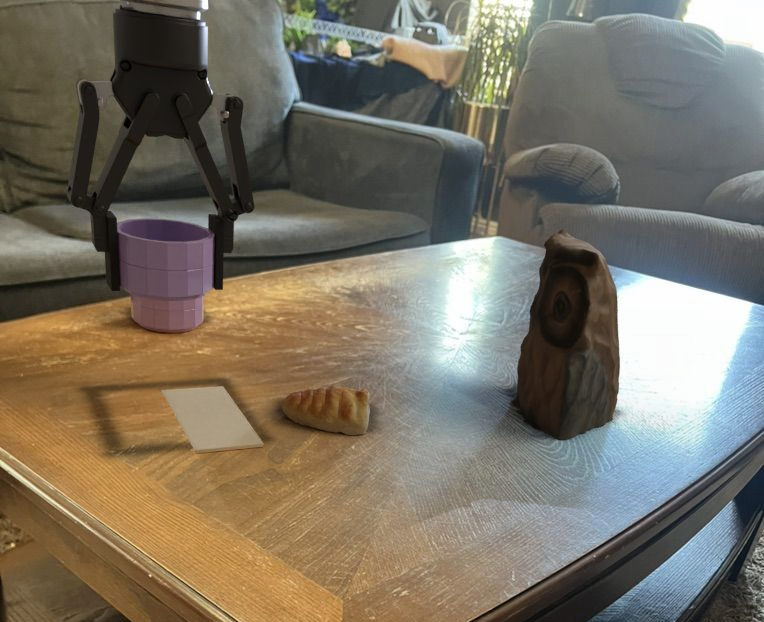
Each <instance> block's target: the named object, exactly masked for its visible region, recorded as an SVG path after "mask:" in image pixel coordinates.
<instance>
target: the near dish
mask: <svg viewBox="0 0 764 622" xmlns="http://www.w3.org/2000/svg"><path fill="white" fill-rule="evenodd" d="M117 234H118V255H119V276H120V288H122V289H124V290H125V292H126V293H128V294H132V295H135V296H137V297H141V298H145V299H150V300H157V301H188V300H194V299H198V298H200V297H203V296H204V297H205V296H206V295H207V293H209V292H210V291H213V289H214V288H213V286H214V257H215V233H213V232H212V231H211V230H210V229H208V227H206V226H203V225H200V224H198V223H194V222H193V223H192V222H187V221H185V220H177V219H170V218H169V219H167V218H150V217H149V218H146V217H143V218H131V219H125V220H122V221H121V220H120V221H117Z"/></svg>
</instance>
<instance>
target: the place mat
mask: <svg viewBox="0 0 764 622" xmlns="http://www.w3.org/2000/svg"><path fill="white" fill-rule="evenodd" d="M160 391H161V393H162V395H163V397H164V398H165V400H166V402H167V404H168V405H169V408H170V409H171V411H172V413H173V414H174V416H175V418H176V421H177V422H178V424H179V425H180V427H181V429H182V430H183V432H184V434H185V436H186V438H187V439H188V441H189V443H190V445H191V447H192V448H193V450H194V452H195V454H206V453H214V452H226V451H234V450H243V449H244V450H245V449H254V448H264V445H265V444H264V442H263V441H262V439H261V437H260V436H259V435H258V433H257V432H256V431H255V429H254V428H253V427H252V425H251V424H250V422H249V420H247V418H246V416H245V415H244V413H242V411H241V410H240V408H239V407H238V405H237V404H236V403H235V400H233V398H232V397H231V395H230V394H229V393H228V391H227V390H226V389H225V387H224V385H222V386H220V385H219V386H206V387H205V386H203V387H189V388H173V389H160Z"/></svg>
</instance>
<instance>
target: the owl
mask: <svg viewBox="0 0 764 622" xmlns="http://www.w3.org/2000/svg"><path fill="white" fill-rule="evenodd" d="M543 247H544V248H545V253H544V257H543V260H542V261H541V264H540V266H539V269H538V274H539V276H538V277H539V285H538V289H537V291H536V293H535V295H534V297H533V301H532V303H531V305H530V307H529V323H528V331H527V334H526V335H525V336H524V338H523V339H522V341H521V344H520V346H519V347H520V349H519V350H520V355H519V358H518V361H517V367H516V374H517V384H516V385H517V386H516V395H515V396H514V398H512V399H511V401H510V403H511V404H512V405H513V406H515V407H517V410H516V412H517V413H518V414H519V415H521V416H522V417H523V420H522V421H523V423H525V424H527V425H529V426H531V427H532V428H533V429H535V430H538V431H541V432H544V433H546V434H547V435H550V436H551V437H553V438H555V439H556V440H561V441H567V440H572V439H573V438H575V437H577V435H580V434H581V435H583V434H586V433H587V432H588V431H591V430H593V429H595V428H601V427H604V426H605V425H606V424H607V423H610V422H611V421H613V420H614V418H613V417H614V412H615V410H616V407H617V404H618V394H619V392H620V372H621V357H620V337H619V323H618V322H619V319H618V318H619V317H618V316H619V315H618V313H619V312H618V311H619V309H618V307H619V306H618V302H619V301H618V290H617V285H616V284H615V281H614V278H613V275H612V272H611V270H610V268H609V265H608V263H607V259H606V258H605V256H604V255H603V254H602V253H601V251H600V250H598V249H597V248H596V247H594V246H593V245H591V244H590V243H589V242H587V241H585V240H581V239H579V238H575V237H574V236H572V235H571V234H570V233H568V230H567V229H566V228H562V229H560V230H559V231H558V232H557V233H553V234H552V235H551V236H550V237H549V238H548V239H546V241H544V244H543Z"/></svg>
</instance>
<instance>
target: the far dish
mask: <svg viewBox="0 0 764 622" xmlns="http://www.w3.org/2000/svg"><path fill="white" fill-rule="evenodd" d="M129 294H130V293H129ZM129 297H130V317H131V318H132V320H133V321H134V322H135V323H137V325H138V326H140V327H141V328H144V329H146V330H149V331H152V332H157V333H167V334H174V333H176V334H177V333H185V332H191V331H192V330H195V329H197V327H199V326H201V325H202V324H203V322H204V320H205V319H204V318H205V306H204V305H205V295H204V296H203V297H200V298H198V299H194V300H188V301H157V300H150V299H145V298H141V297H137V296H135V295H132V294H130V296H129Z"/></svg>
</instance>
